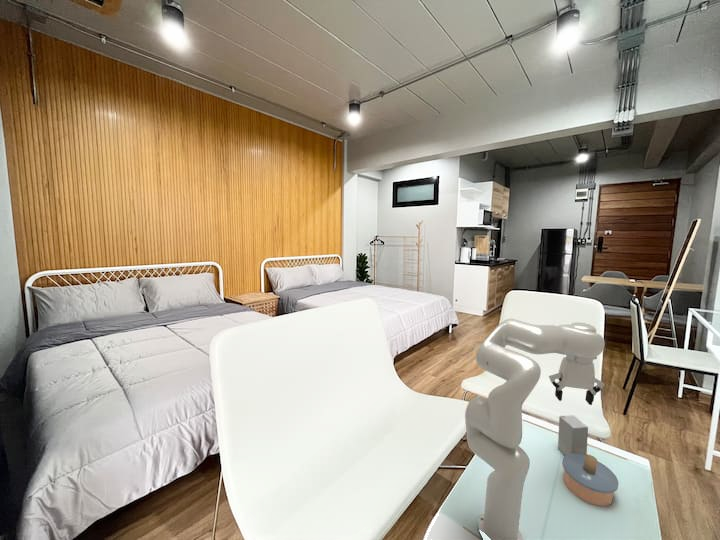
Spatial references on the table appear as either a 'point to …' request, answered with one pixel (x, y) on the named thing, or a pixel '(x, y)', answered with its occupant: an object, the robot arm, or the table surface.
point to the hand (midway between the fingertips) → (573, 400)
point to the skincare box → (572, 435)
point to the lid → (590, 473)
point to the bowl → (587, 492)
